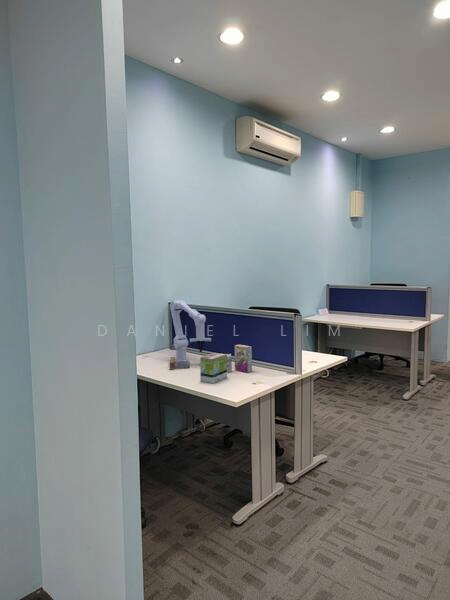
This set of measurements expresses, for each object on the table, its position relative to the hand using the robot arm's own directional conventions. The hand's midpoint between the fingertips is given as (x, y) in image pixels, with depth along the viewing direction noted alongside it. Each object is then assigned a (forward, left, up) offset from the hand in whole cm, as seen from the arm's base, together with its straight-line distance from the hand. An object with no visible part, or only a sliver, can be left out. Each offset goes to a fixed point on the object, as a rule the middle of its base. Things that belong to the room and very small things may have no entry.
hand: (200, 351), depth 270 cm
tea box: (+36, +7, -10) cm, 38 cm away
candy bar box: (+19, +27, -10) cm, 34 cm away
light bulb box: (+18, +14, -10) cm, 25 cm away
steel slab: (+3, -13, -10) cm, 17 cm away
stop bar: (+2, -19, -9) cm, 22 cm away
